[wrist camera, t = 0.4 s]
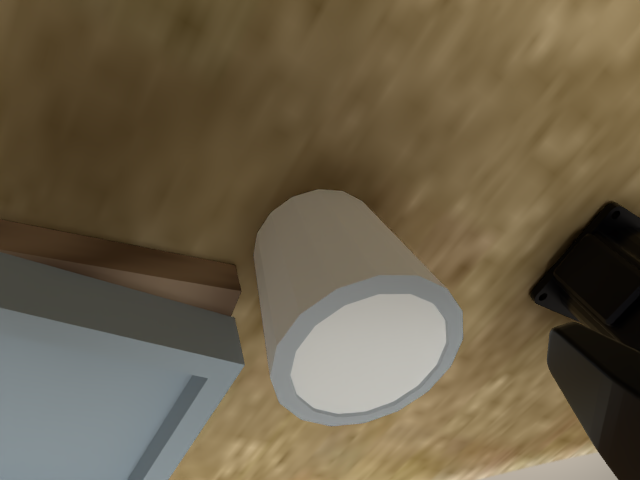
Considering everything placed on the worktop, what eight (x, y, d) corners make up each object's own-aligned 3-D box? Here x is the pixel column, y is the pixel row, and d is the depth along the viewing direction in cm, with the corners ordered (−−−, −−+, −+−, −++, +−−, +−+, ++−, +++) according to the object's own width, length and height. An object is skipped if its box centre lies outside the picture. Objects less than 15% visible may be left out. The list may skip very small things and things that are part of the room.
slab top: (234, 317, 22) (244, 364, 20) (129, 483, 25) (128, 538, 23) (-81, 229, 16) (-116, 280, 14) (-154, 456, 20) (-190, 524, 18)
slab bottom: (232, 256, 23) (241, 291, 21) (159, 438, 28) (160, 480, 26) (-102, 188, 18) (-134, 226, 16) (-120, 426, 23) (-146, 478, 21)
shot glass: (271, 156, 20) (320, 257, 15) (415, 197, 23) (502, 294, 18) (217, 295, 23) (241, 425, 18) (352, 315, 26) (409, 432, 20)
